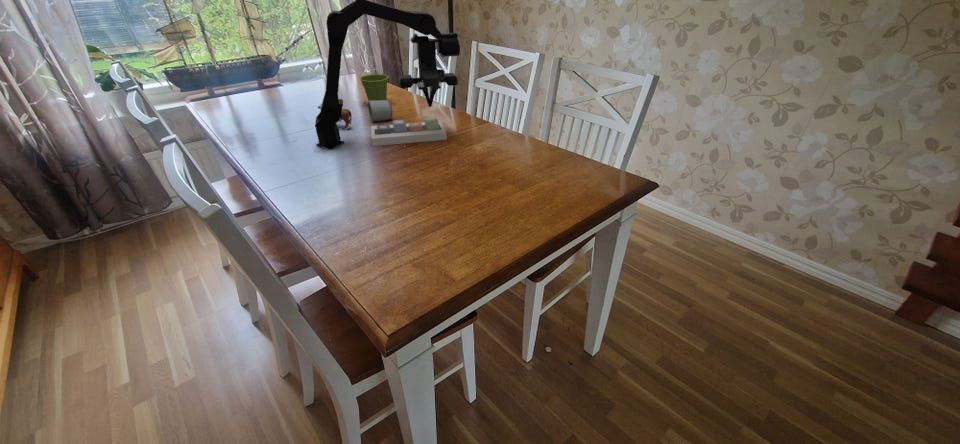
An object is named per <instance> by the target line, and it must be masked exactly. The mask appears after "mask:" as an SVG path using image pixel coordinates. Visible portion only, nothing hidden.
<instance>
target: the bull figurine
mask: <svg viewBox="0 0 960 444" xmlns="http://www.w3.org/2000/svg"><path fill="white" fill-rule="evenodd" d="M321 105H322V103H320V105H319V106H317V108H318V109H320V111H321ZM352 117H353V116H352V111H351V110H350V109H348V108H342V117H340V118H339V121H338V122H339V123H341V122H342V121H344V123H345V125H344V128H345V131H347V130H349V127H350V125H351V124H352Z"/></svg>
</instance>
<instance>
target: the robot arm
mask: <svg viewBox="0 0 960 444" xmlns="http://www.w3.org/2000/svg"><path fill="white" fill-rule="evenodd" d="M363 15H367V16H370V17H374V18H379V19H380V20H386V21H389V22H392V23H396V24H400V25H403V26H405V27H408V28H410V29H412V30H413V31H416V32H418V33H420V34H421V35H418V34H417V33H413V36H412V37H411V38H409V39H410V40H409V41H410V42H411V43H412V44H416V46H417V47H416V48H417V62H418V63H417V64H418V77H412V74H404V75H403V74H401V75H399V76H398V81H399V82H398V84H399V87H400V88H401V89H411V88H412V87H413V85H416V86H417V89H418V90H419V91H422V93H423V94H424V98H425V100H426V103H427V106H428V108H429V107H430V108H432V105H433V102H434V98H435V95H436V93H437V91H438V90H439V89H441V83H443V84H444V83H446V85H448V87H449V86H450V87H452V86H458V85H459V82H458V81H459V79H458V76H456V74H455V73H454V72H445V69H444V68H443V69H440V68H439V69H438V68H437V54H439V55H440V57H442V58H443V57H444V58H446V57H459V56H460V53H461V45H460V42H459V38H458V35H459V34H458V33H457V32H450V33H441V31H440V30H439V29H438V28H437V23H436V20H435V18H434V16H433V15H432V14H429V13H428V12H426V11H419V10H417V11H416V10H404V9H402V8H401V9H400V8H396V7H393V6H390V5H386V4H383V3H379V2H376V1H373V0H354V1H353V2H352V1H351V3H349V4H347V5H346V6H345V7H343V8H342V9H340V10H332V11H331V12H329V13H328V15H327V18H326V30H327V31H326V32H327V40H328V56H327V71H326V80H325V81H326V83H325V84H326V85H325V92H324V95H323V98H322V103H321V104H322V105H321V104H320V105H321V110H320V111H319V113H318V114H317V116H316V117H315V123H314V124H315V125H314V127H315V131H316V136H317V140H318V143H316V145H315V146H316V147H319V148H323V149H328V150H333V149H335V148H336V147H338V146H341V145H343V144H345V141H344V140H341V134H340V129H339V128H338V124H337V123H338V122H339V118H340V117H342V109H343V107H344V99H342V98H339V86H340V83H339V82H340V75H341V64H342V54H343V53H342V52H343V47H344V44H345V40H346V37H347V33H348V30H349V26H351V25H353V23H355V22H356V21H357V20H358V19H360V18H361V17H362V16H363ZM429 36H431V37H433V38H429Z"/></svg>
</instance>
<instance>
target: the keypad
mask: <svg viewBox="0 0 960 444" xmlns="http://www.w3.org/2000/svg"><path fill="white" fill-rule="evenodd" d="M420 122H421V124H422V126H423V131H417V132H410V128H409V123H410V122H409V123H407V122H406V128H407V132H402V133H394V128H393V124H388V125H389V126H390V132H391V134H380V135H378V131H377V126H378V125H372V126H370V133H371V143H372V147H379V146H389V145H402V144H413V143H425V142H435V141H437V142H438V141H447V140H448V136H447V135H448V133H447V130H446V129H445V126H444V125H443V123H442V121H441V120H438V129H439V130H426V128H425V121H423V122H422V121H420Z"/></svg>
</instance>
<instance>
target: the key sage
mask: <svg viewBox="0 0 960 444" xmlns="http://www.w3.org/2000/svg"><path fill="white" fill-rule="evenodd" d="M423 119H424V122H425V128H426V130H439V129H438V121H439V120H438V118H437V117H436V116H435V117H424V118H423Z"/></svg>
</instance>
